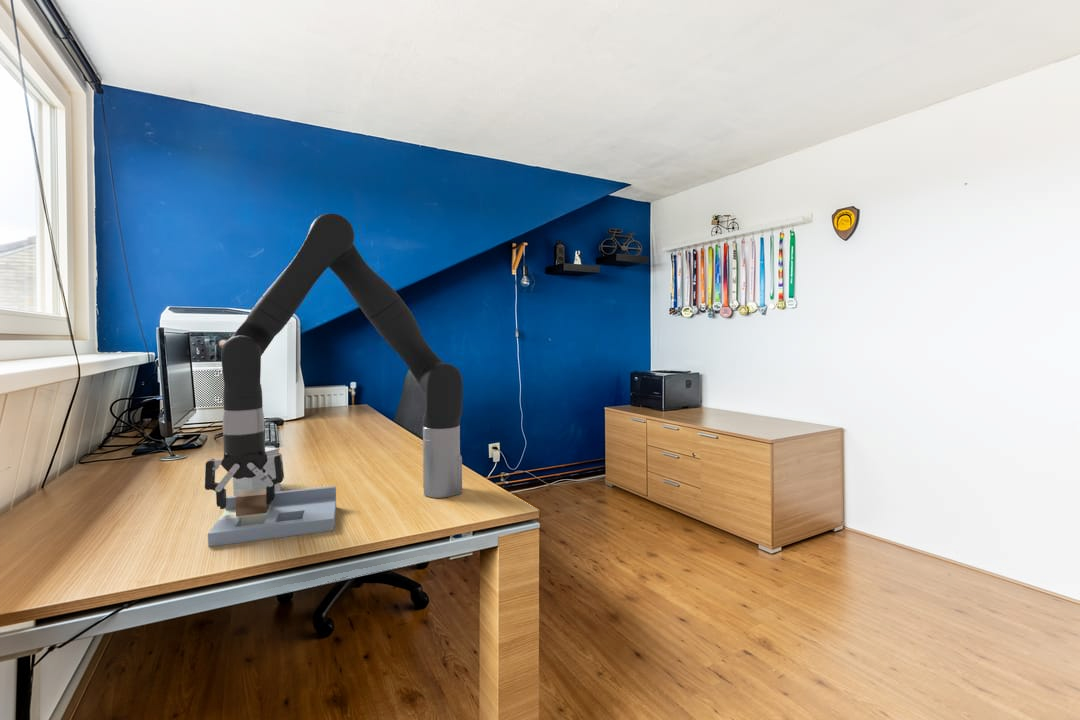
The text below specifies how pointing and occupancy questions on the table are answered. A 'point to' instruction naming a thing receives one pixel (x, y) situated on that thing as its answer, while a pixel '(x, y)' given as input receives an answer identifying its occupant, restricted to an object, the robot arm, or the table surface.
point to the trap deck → (278, 517)
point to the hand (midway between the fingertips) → (246, 505)
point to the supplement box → (255, 482)
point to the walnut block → (251, 502)
